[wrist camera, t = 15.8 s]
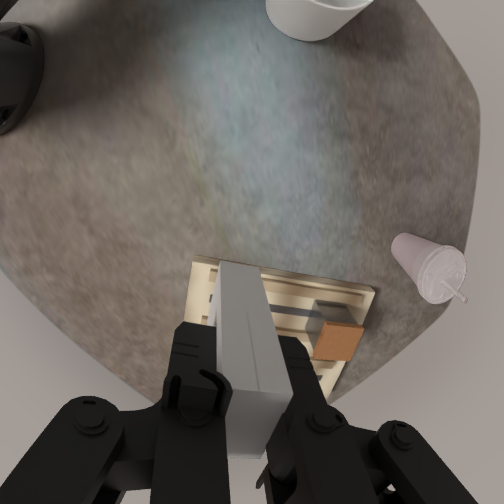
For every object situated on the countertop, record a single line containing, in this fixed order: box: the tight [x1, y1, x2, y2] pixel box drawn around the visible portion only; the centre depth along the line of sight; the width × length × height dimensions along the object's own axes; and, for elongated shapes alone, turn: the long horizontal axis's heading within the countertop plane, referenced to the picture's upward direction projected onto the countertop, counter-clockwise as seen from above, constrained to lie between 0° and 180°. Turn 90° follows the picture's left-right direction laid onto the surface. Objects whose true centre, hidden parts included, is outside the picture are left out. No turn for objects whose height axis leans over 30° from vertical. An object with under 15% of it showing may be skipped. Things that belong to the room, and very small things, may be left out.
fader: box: [305, 300, 364, 361], centre depth 35 cm, size 4×4×6 cm
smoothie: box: [391, 233, 468, 304], centre depth 31 cm, size 6×6×14 cm
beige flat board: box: [184, 255, 375, 398], centre depth 39 cm, size 22×18×3 cm
